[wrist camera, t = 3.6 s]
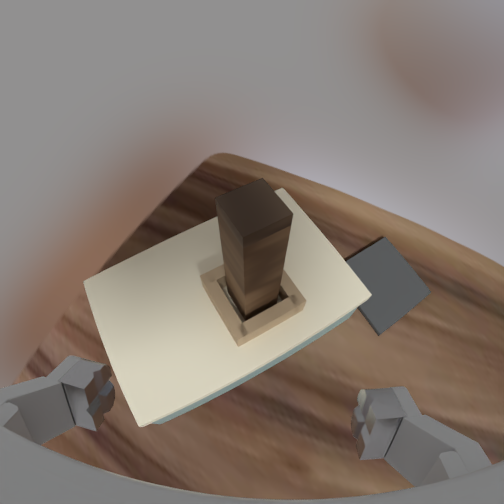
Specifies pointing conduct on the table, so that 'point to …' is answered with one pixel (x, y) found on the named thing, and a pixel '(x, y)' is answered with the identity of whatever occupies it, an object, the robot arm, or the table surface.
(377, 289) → the key mat
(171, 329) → the cream and teal block
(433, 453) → the robot arm
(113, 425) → the table surface
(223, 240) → the walnut key
